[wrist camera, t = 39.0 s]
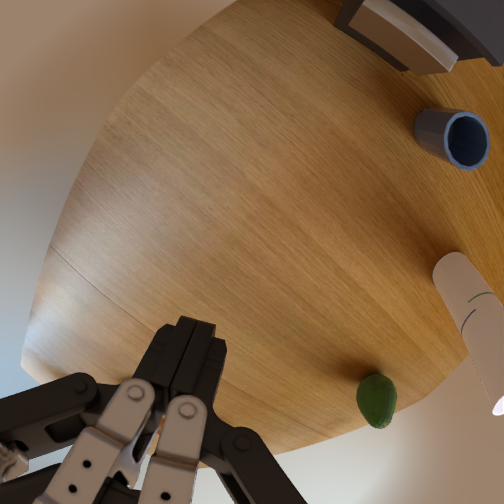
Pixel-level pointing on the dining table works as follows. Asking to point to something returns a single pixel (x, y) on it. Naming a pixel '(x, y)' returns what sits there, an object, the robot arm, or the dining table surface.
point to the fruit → (377, 400)
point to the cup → (453, 136)
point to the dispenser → (444, 27)
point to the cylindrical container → (475, 320)
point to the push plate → (403, 37)
